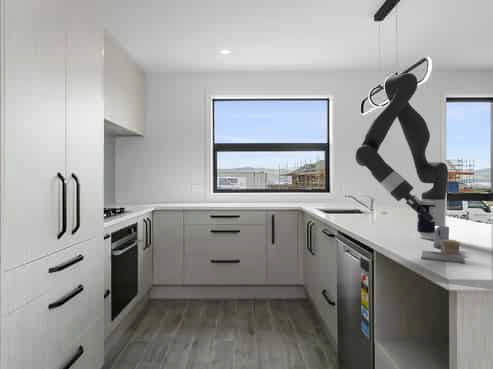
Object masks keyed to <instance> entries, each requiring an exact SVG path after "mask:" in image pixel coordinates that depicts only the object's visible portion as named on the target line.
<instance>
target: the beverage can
mask: <svg viewBox="0 0 493 369" xmlns="http://www.w3.org/2000/svg"><path fill="white" fill-rule="evenodd" d="M419 202H420V203H421V204H422V207H423V208H425V210H426V211H427V212H428V213H429V214H430V215H431V216H432V217H433V220H432V221H430V222H428V221H427V220H426V219H425V218H424V217H423V216H422V215H420V214H418V213H417V225H416V226H417V229H416V230H417V231H416V232H418V233H419V234H420V235H421V234H424V235H432V234H433V233H434V232H435V204H434V201H422V200H420V201H419ZM419 209H420V208H419ZM419 209H418V210H419Z"/></svg>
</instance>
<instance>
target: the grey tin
mask: <svg viewBox="0 0 493 369" xmlns="http://www.w3.org/2000/svg"><path fill="white" fill-rule="evenodd" d="M441 240H450V227H449V226H447V225H445V226H435V232H434V240H433V248H434V249H438V250H441Z"/></svg>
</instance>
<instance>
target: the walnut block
mask: <svg viewBox="0 0 493 369" xmlns="http://www.w3.org/2000/svg"><path fill="white" fill-rule="evenodd" d="M440 252H443V253H454V254H460V242H459V241H457V240H456V239H449V240H441V249H440Z"/></svg>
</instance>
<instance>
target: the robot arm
mask: <svg viewBox="0 0 493 369" xmlns="http://www.w3.org/2000/svg"><path fill="white" fill-rule="evenodd" d="M418 84H419V82H418V78H417V76H416V75H415V74H413V73H410V72H406V73H399V74H394V75H390V76H388V77H387V78H386V79H385V81H384V91H385V95H386V97H387V99H388V101H389V103H388V105H386V106H385V108H384V109H382V110H381V112H379V113H378V115H377V116H376V117H375V118H374V119H373V120H372V123H371V124H370V126H369V128H368V130H367V132H366V134H365V137H364V140H363V142H362V144H361V145H360V146H359V147H358V148H357V149H356V152H355V160H356V161H355V162H356V163H357V164H358V165H359V166H361V167H366V168H367V169H368V170H369V171H370V173H371V175H372V176H373V178H374V179H375V180H376V181H378V183H379V184H380V185H381V186H382V187H383V188H384V190H386V191H387V192H388V193H389V194H390V195H391V196H392V198H394V200H396V201H397V202H400V201H401V200H402V199H404V200H405V201H406V202H405V204H406V205H407V206H409V207H410V208H411V209H412V210H414V211H415V212H416V213H417V215H418V214H420V215H422V216H423V217H424V218H425V219H426V220H427V221H428V222H430V221H432V220H433V217H432V216H431V215H430V214H429V213H428V212H427V211H426V210H425V208H423V207H422V204H421V203H420V202H419V201H434V204H435V226H446V195H447V192H448V191H447V189H448V179H449V168H448V166H447V164H446V163H445V162H442V161H441V162H439V161H436V162H433V161H432V162H429V161H428V160H427V157H426V150H427V147H428V145H429V142H430V140H431V138H430V137H431V133H430V129H429V128H428V125H427V122H426V120H425V118H424V117H423V116H422V115H421V114H420V113H419V112H418V111H417V110H415V108H414V107H412V105H411V103H410V102H409V101H410V100H411V98H413V96H414V95H415V93H416V92H417V89H418ZM396 119H397V120H398V123H399V124H400V127H401V129H402V133H403V135H404V137H405V140H406V143H407V146H408V147H409V150H410V153H411V156H412V159H413V162H414V168H415V171H416V175H417V178H418V180H419V181H420V182H421V183H424V184H433V186H432V188H430V189H428V190H425V191H423V192H422V193H421V200H420V199H419V197H417V195H415V194H414V195H412V194H411V191H413V189H414V186H413V185H412V184H411V183H409V181H407V180H406V179H405V178H404V177H403V176H402V175H401V173H398V172H397V171H395V170H394V168H393V167H391V166H390V165H389V164H388V163H387V162H386V161H385V160H384V158H383V157H382V156H381V155H380V154H379V152H378V151H379V149H380V147H381V145H382V143H383V142H384V140H385V138H386V137H387V135H388V132H389V130H390V129H391V127H392V125H393V124H394V122H395V121H396ZM419 208H420V209H419ZM418 209H419V210H418ZM420 238H421V239H424V240H433V241H434V233H433V234H432V235H424V234H420Z"/></svg>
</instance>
